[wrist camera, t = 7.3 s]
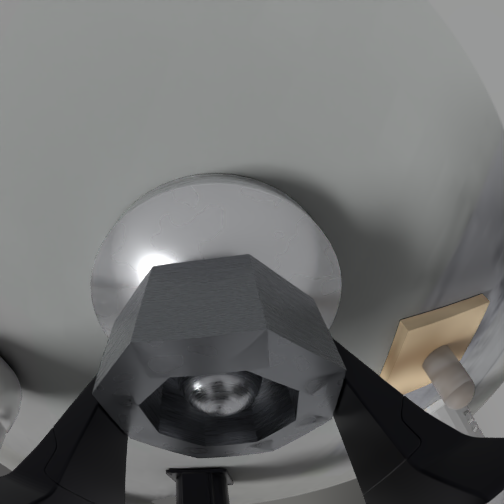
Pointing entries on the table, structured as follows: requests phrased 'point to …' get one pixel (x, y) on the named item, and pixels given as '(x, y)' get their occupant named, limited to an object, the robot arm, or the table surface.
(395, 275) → the table surface
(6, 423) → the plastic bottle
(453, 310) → the stand
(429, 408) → the french press
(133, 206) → the disc
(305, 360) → the collar
